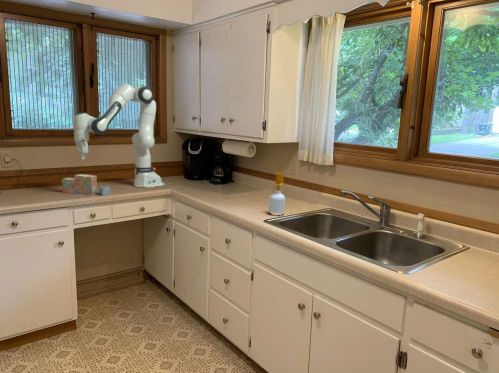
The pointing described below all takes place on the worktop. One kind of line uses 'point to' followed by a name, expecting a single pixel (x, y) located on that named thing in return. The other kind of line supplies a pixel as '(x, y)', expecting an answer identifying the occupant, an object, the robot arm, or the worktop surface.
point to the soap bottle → (277, 197)
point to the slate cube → (104, 190)
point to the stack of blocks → (80, 184)
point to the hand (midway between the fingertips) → (82, 158)
